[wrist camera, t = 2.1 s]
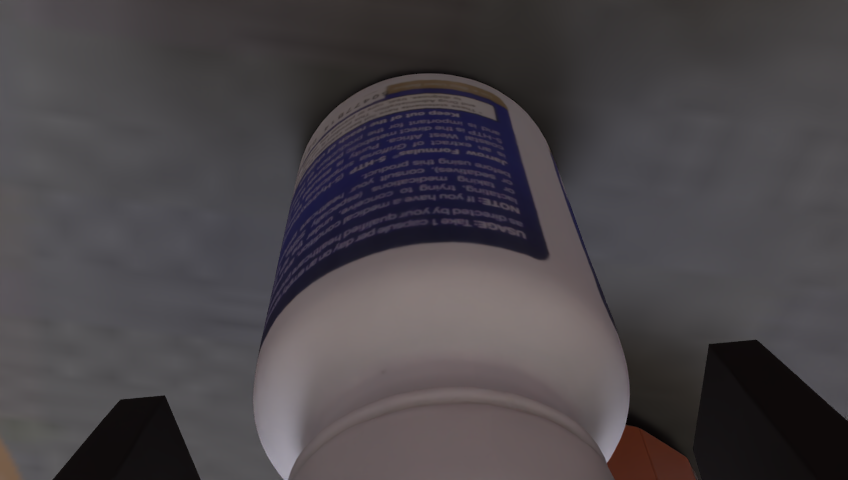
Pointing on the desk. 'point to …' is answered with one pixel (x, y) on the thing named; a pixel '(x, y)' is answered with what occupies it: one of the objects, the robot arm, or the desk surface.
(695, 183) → the desk surface
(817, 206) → the desk surface
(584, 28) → the desk surface
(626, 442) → the plant pot
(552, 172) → the pill bottle
